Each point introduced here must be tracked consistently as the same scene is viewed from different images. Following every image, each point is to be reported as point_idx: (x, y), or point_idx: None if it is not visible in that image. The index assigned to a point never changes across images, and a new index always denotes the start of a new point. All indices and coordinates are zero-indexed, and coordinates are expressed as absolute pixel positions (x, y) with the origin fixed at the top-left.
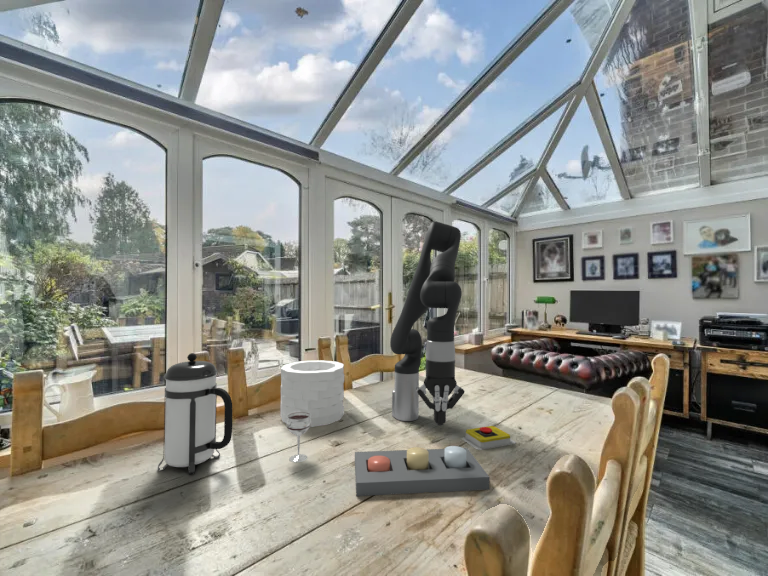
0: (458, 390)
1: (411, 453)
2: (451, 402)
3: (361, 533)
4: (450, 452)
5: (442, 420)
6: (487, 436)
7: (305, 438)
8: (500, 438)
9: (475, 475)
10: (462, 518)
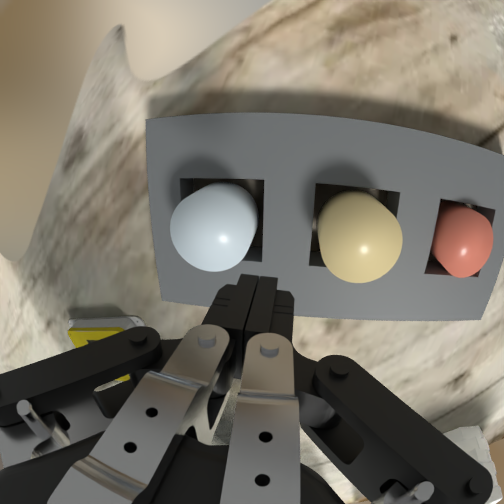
0: (19, 426)
1: (390, 235)
2: (118, 363)
3: (493, 38)
4: (232, 221)
5: (242, 287)
6: None
7: (489, 393)
8: (84, 329)
9: (182, 128)
10: (280, 9)
